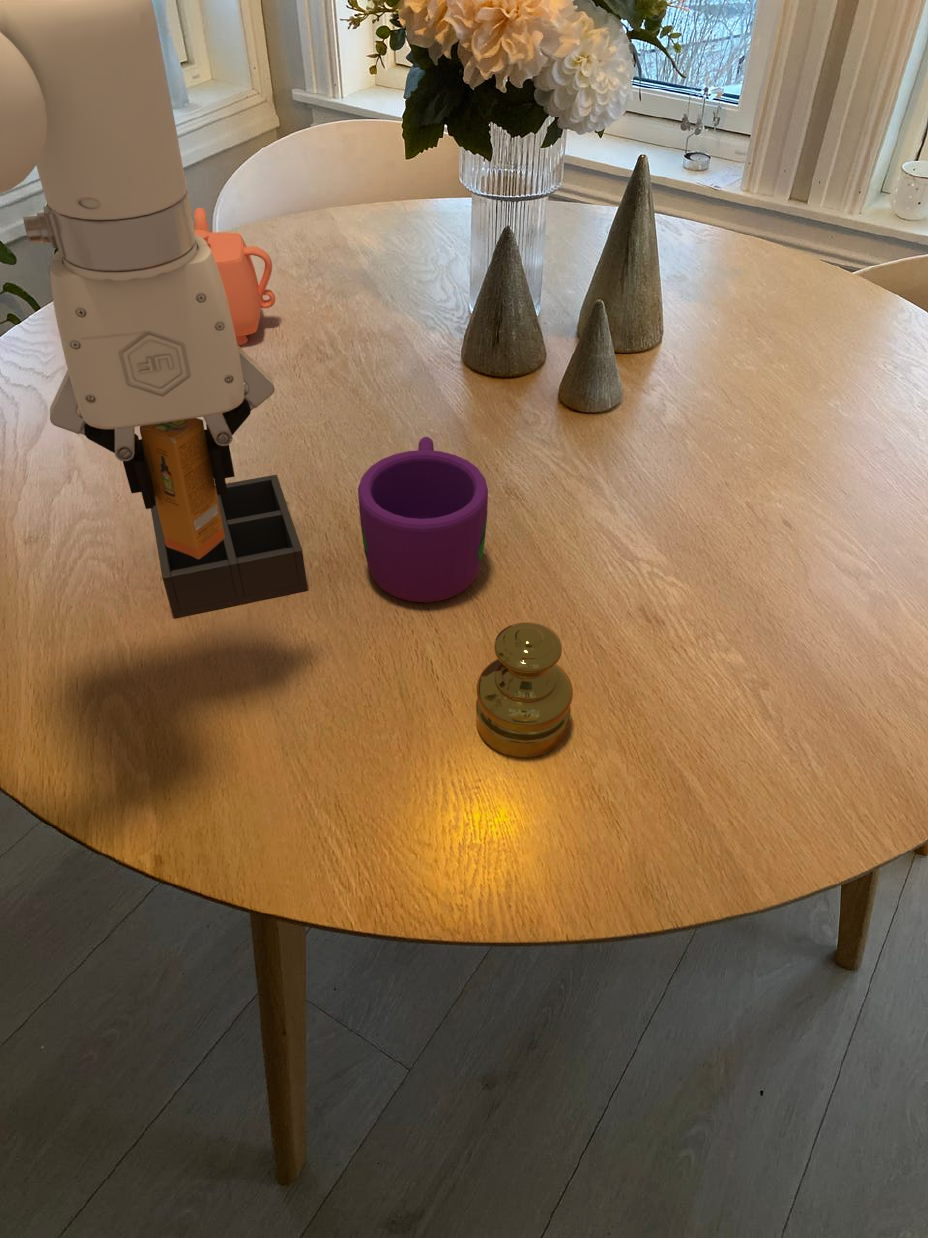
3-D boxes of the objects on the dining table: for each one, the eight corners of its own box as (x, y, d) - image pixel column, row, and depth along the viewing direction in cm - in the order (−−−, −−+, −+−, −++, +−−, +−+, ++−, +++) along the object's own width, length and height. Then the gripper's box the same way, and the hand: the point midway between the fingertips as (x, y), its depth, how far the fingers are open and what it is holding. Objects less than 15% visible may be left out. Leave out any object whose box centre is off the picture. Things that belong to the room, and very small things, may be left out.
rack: (173, 618, 85) (162, 578, 82) (159, 536, 93) (148, 497, 90) (307, 590, 88) (302, 550, 85) (282, 513, 96) (276, 474, 93)
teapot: (210, 373, 116) (191, 272, 107) (124, 331, 123) (100, 233, 114) (299, 329, 124) (288, 231, 116) (214, 292, 132) (198, 197, 123)
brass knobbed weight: (579, 751, 75) (593, 663, 68) (487, 767, 74) (491, 679, 67) (553, 683, 80) (563, 594, 73) (466, 696, 79) (468, 608, 72)
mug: (486, 613, 86) (489, 525, 79) (359, 612, 86) (351, 524, 79) (483, 497, 99) (485, 412, 92) (372, 496, 98) (367, 411, 92)
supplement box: (230, 536, 71) (207, 418, 64) (199, 562, 68) (171, 443, 62) (195, 522, 72) (168, 404, 65) (163, 547, 70) (132, 428, 63)
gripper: (-37, 273, 50) (60, 545, 63) (284, 238, 54) (314, 501, 66) (-30, 219, 55) (58, 481, 68) (263, 190, 59) (295, 443, 72)
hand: (185, 488), depth 67 cm, fingers closed on supplement box, 4 cm apart
